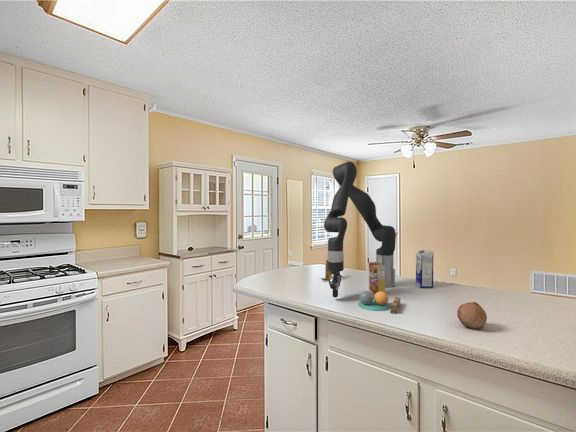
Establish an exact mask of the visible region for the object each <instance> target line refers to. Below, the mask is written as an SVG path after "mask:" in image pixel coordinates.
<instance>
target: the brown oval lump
mask: <svg viewBox="0 0 576 432" xmlns="http://www.w3.org/2000/svg"><path fill="white" fill-rule="evenodd" d="M456 317H457V319H458V320H459V322H460V323H461V324H462V326H464V327H465V328H467V329H472V330H477V329H479V330H480V329H481V328H483V327H484V326H485V325H486V323H487V320H488V316H487V313H486V311H485V309H483V306H481V305H480V304H479V303H478V302H476V301H470V302H466V303H463V304H460V305H459V306H458V308H457V311H456Z"/></svg>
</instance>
